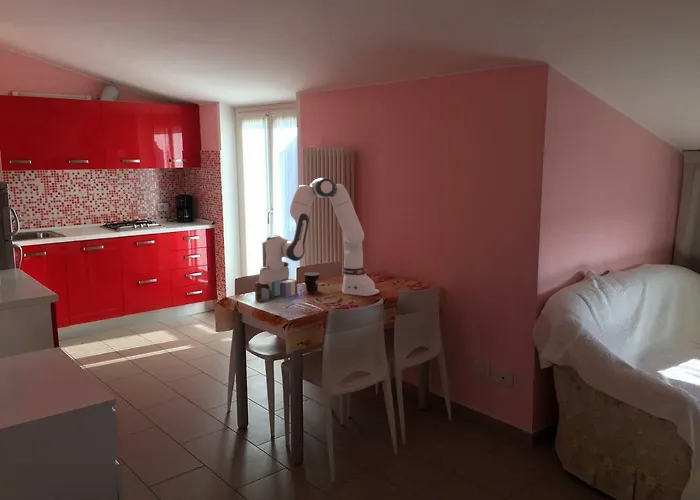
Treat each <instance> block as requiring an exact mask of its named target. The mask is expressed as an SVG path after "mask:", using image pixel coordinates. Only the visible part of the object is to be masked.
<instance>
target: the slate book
mask: <svg viewBox="0 0 700 500" xmlns="http://www.w3.org/2000/svg"><path fill="white" fill-rule="evenodd" d="M279 296H280V297H285V298H288V297H291V293H290V282H287V281H282V282H281V284H280V295H279Z"/></svg>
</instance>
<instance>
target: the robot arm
mask: <svg viewBox="0 0 700 500" xmlns="http://www.w3.org/2000/svg"><path fill="white" fill-rule="evenodd" d="M324 198H328V199H329V200H330V203H331V205H332V208H333V210H334V213H335V216H336V219H337V221H338V223H339V225H340V228H341V232H342V239H343V240H342V242H343V243H342V244H343V270H342V272H343V273H342V274H343V280H342V287H341V292H342V294H346V295H352V296H353V295H354V296H362V297H363V296H364V297H367V296H368V297H369V296H373V295H376V294H379V293H380V290H379V289H376V286H375V285H376V283H375V282H374V280H373V279H372V278H370V277H369V275H367V273H366V272H367V268H364V267H365V266H364V253H363V252H364V250H363V241H364V239H365V233H364V230H363V227H362V225H361V222H360V220H359V217H358V215H357V212H356V211H355V208H354V205H353V202H352V198H351V197H350V195H349V192H348V190H347V188H346V187H345V185H343V184H342V183H335V182H334V181H332V180H331V178H328V177H319V178H316V179H314V180H312V181H311V182H310V183H308V185H307V184H300V185H299V186H298V187H297V189H296V191H295V193H294V196H293V198H292V201H291V204H290V209H289V213H290V217H292V219H293V220H294V222H295V225H296V226H295V232H294V236H293V239H292V240H288V239H286V238H284V237H282V236H280V235H279V234H274V235H270V236H268V237H266V240H265V241H266V267H263V266H262V267H261V268H260V269H259V277H258V282H259V283H260V284H268V286H269V290H273V287H272V286H271V284H272V282H275V281H280V284H281V280H284V279H289V277H290V269H289V262H287V261H283V258H286V259H289V260H291V261H293V262H298V261H300V260H301V259H303V257H304V256H305V252H306V249H305V248H306V247H305V246H306V245H305V243H306V239H307V235H308V234H307V232H308V229H309V228H308V227H309V223H310V219H309V217H310V212H311V208H312V205H313V202H314V200H315V199H324Z"/></svg>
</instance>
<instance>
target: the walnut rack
mask: <svg viewBox="0 0 700 500" xmlns="http://www.w3.org/2000/svg"><path fill="white" fill-rule="evenodd" d="M286 280H293V281H295V295H297V294H298V291H299V290H298V287H299V286H298V280H297V279H292V278H288V279H284V280H281V282H282V281H286ZM261 288H266V289H269V286H268V284H260V283H259V281H255V282H254V295H255V296H254V301H258V300H262V289H261ZM298 295H299V294H298ZM272 297H274V296H273V295H269V298H272Z"/></svg>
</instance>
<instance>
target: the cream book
mask: <svg viewBox="0 0 700 500" xmlns="http://www.w3.org/2000/svg"><path fill="white" fill-rule="evenodd" d="M293 280H294V279H293ZM293 280H286V281H287V282H290V293H291V296H295V295H296V294H295V281H293ZM291 296H290V297H291Z"/></svg>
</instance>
